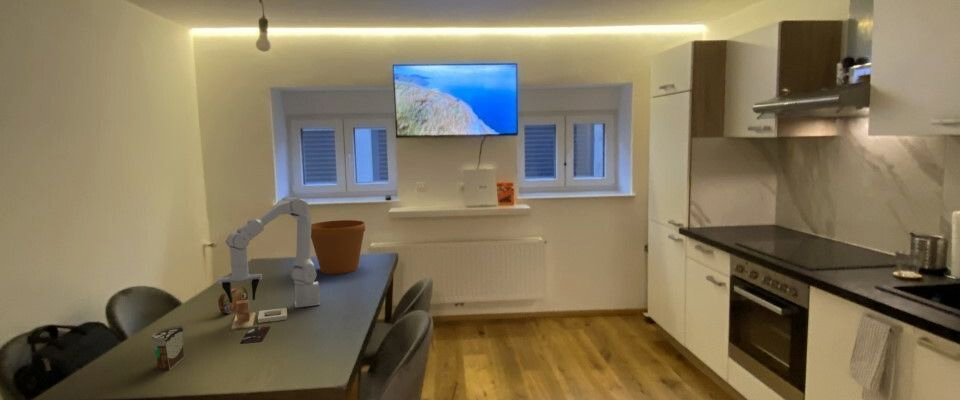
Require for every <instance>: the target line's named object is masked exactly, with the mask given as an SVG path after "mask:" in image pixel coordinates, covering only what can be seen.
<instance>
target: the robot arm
mask: <svg viewBox="0 0 960 400" xmlns="http://www.w3.org/2000/svg"><path fill="white" fill-rule="evenodd" d="M308 204H309V203H308V202H307V201H306V200H305V199H303V198H302V197H290V196H285V197H282V198H281V199H280V200H278V201H277V202H276V203H275V204H274V205H273V206H272V207H271V208H269V210H267V211H266V212H265V213H263V215H261V216H260V217H259V218H257V219H256V218H252V219H248V220H247V221H246V222H247V223H245V224H244V225H243V226H241V227H238V228H237V229H236V231H232V232H230V233H229V234H228V235H227V238H226V240H225V244H226V246H227V247H228V248H229V257H230V268H231V269H230V270H231V276H225V277H219V278H218V285H221V287H222V289H223V290H224V291H225V292H226V294H227V296H228V298H229V301H230V303H232V301H233V300H232V293H231V289H232V283H241V282H242V283H243V282H249V281H250V282H251V283H250V284H251V289H252V293H251V294H252V296H251V297H252V301H255V300H256V293H257V288H258V286H259V283H260V281H262V280H263V274H262V273H250V272H249V271H250V270H249V261H248V258H249V257H248V246H249V244H250V242H251V241H252V240H253V239H254V238H255V237H257V236H258V235H259V234H261V233H262V232H264V228H265V226H266V225H268V224H269V223H271V222H272V221H274V220H276V219H277V218H278V217H280V216H281V215H290V216H291V217H292V218H294V219H295V220H296V259H295V260H294V261H293V263H292V267H291V271H290V277H291V279H292V280H293V281H294V282H293V283H294V292H295V293H294V295H295V301H294V307H295V309H296V308H304V307H312V306H320V305H321V301H320V300H321V294H320V286H319V281H315V280H316V278H317V271H316V269H315V263H314V262H313V261H312V259H311V256H312V255H311V253H312V250H311V249H312V248H311V247H312V239H311V224H312V213H311V212H310V209H309V205H308ZM225 292H224V293H225Z"/></svg>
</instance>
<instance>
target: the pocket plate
mask: <svg viewBox="0 0 960 400" xmlns="http://www.w3.org/2000/svg"><path fill="white" fill-rule="evenodd" d="M287 308H288V307H282V308H274V309H273V308H272V309H267V310H265V309H264V310H258V316H257V324H259V323H260V324H261V323H269V321H270V322H276V321H277V322H278V321H284V320H287V319H288V309H287ZM266 315H267V316H266Z"/></svg>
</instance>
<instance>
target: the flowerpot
mask: <svg viewBox="0 0 960 400" xmlns="http://www.w3.org/2000/svg"><path fill="white" fill-rule="evenodd" d="M365 231H366V222H365V221H363V220H356V219H355V220H354V219H353V220H352V219H342V220H339V219H337V220H328V221H327V220H326V221H321V222H314V223H311V244H312V245H313V249H314V252H315V256H316V259H317V262H318V265H319V269H320V273H322V274H327V275H336V274H337V275H338V274H346V273H347V274H348V273H351V272H354V271H356V270H359V269H358V268H359V264H360V263H359V262H360V256H361V251H362V246H363V240H364V239H363V238H364V234H365Z"/></svg>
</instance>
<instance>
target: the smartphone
mask: <svg viewBox="0 0 960 400" xmlns="http://www.w3.org/2000/svg"><path fill="white" fill-rule="evenodd" d="M270 329H271V326H269V325H267V326H256V327H255V326H253V327H250V328H248V329H247V330H246V333H245V334H244V336H243V337H242V339H241V341H240V342H239V344H240V345H242V344H243V345H244V344H254V343H262V342H263V341H264V339H265V338H266V337H267V334H268V333H269V330H270Z"/></svg>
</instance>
